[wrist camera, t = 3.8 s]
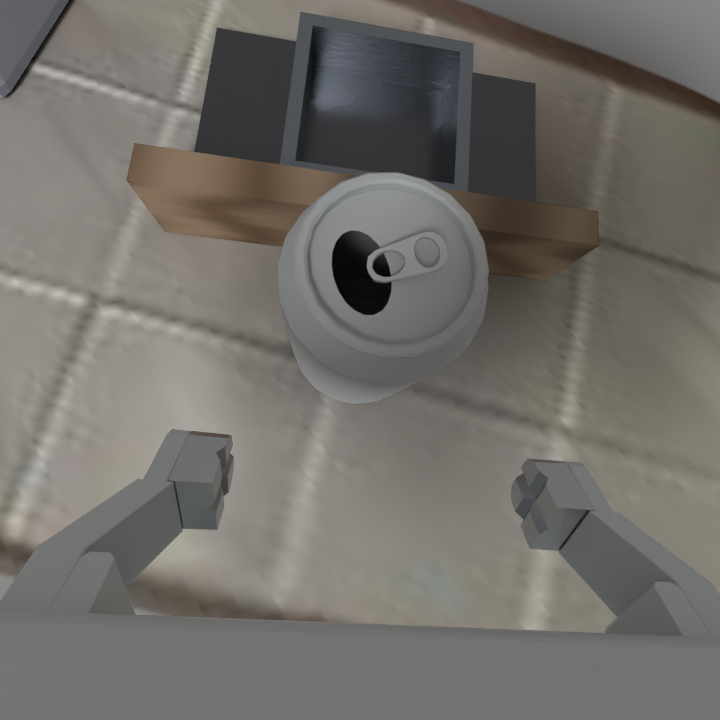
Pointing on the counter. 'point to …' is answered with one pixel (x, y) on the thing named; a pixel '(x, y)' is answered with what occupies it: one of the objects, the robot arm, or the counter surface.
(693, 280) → the counter surface
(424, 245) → the can
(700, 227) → the counter surface
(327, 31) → the socket
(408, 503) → the counter surface
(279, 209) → the wooden plank
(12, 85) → the soap bottle
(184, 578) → the counter surface
